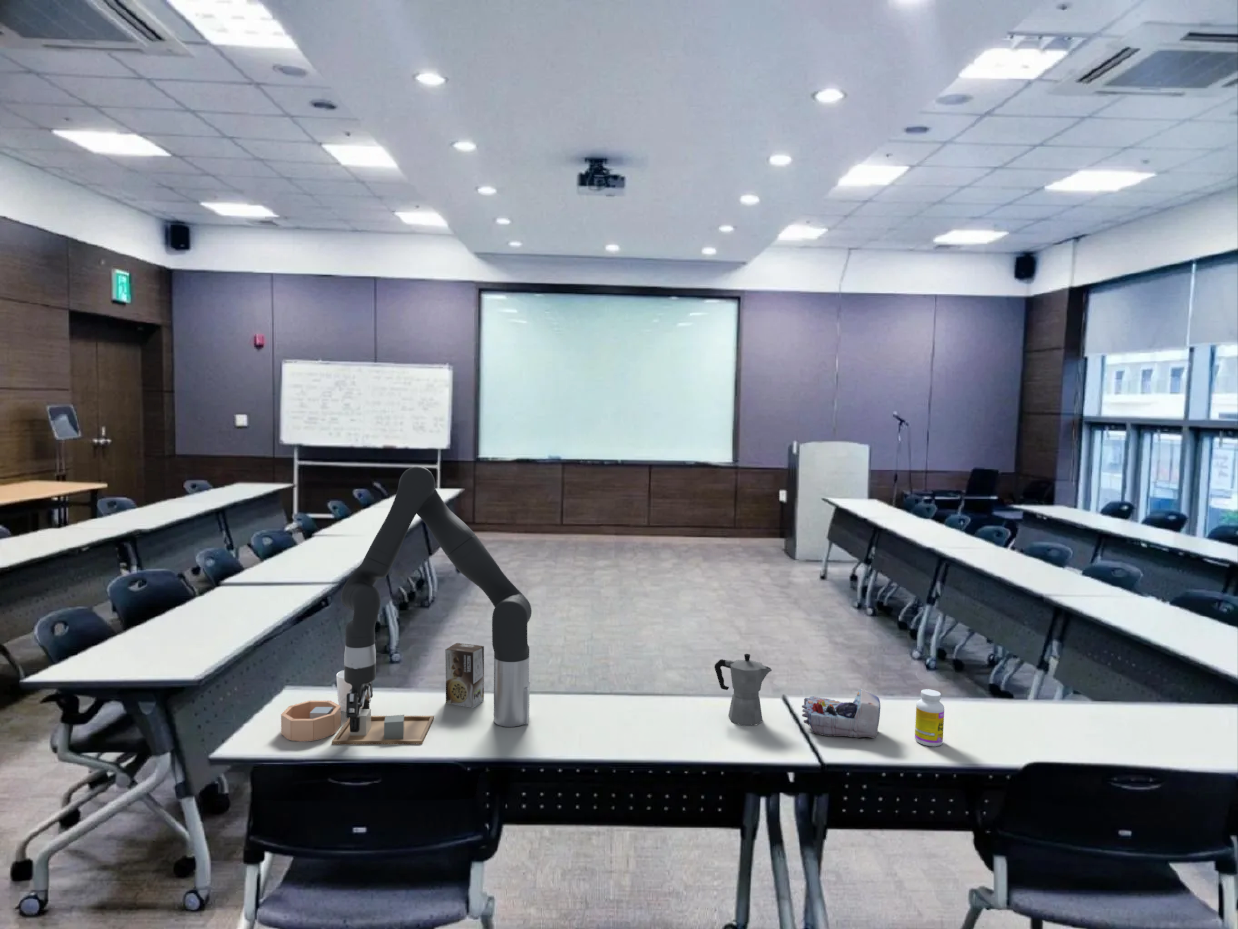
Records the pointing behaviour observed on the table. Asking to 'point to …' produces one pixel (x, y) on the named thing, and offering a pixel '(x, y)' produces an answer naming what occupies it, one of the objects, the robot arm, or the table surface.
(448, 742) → the table surface
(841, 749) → the table surface
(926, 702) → the supplement bottle
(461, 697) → the coffee box
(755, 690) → the coffeepot
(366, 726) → the pale grey cube
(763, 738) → the table surface
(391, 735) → the medium grey cube
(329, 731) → the terracotta bowl
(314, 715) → the pale blue cube
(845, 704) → the cell model
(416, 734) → the walnut tray
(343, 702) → the white cup
